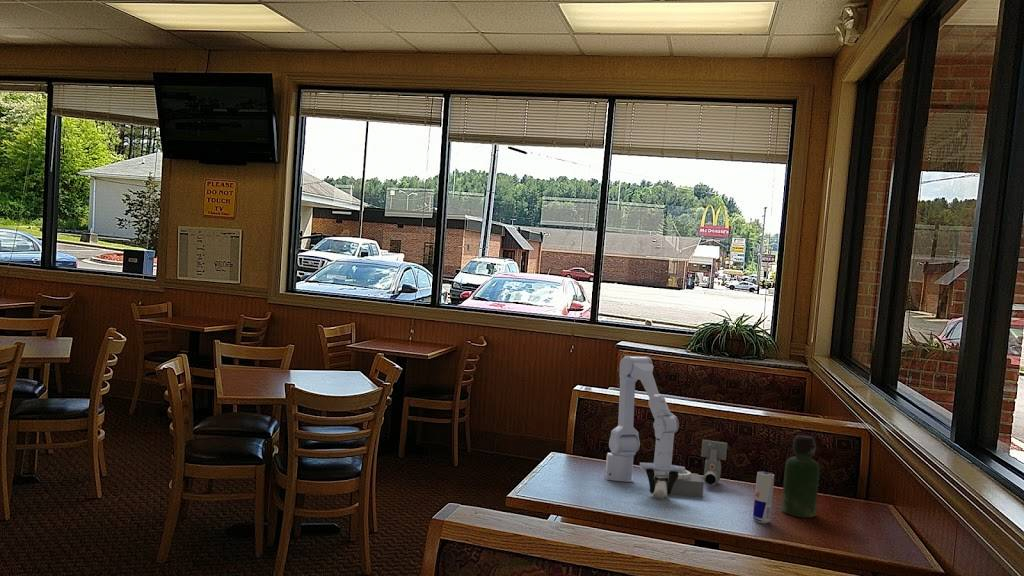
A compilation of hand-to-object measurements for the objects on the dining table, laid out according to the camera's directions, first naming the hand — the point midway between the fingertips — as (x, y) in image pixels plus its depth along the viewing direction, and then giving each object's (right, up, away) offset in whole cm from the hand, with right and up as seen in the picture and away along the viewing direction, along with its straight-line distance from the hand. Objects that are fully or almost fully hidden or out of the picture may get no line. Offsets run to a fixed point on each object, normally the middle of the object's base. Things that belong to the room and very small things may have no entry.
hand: (659, 493), depth 266 cm
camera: (+22, -3, +22) cm, 31 cm away
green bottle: (+44, -5, -5) cm, 44 cm away
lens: (0, -1, 0) cm, 1 cm away
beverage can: (+28, -5, -17) cm, 33 cm away
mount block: (+7, -2, +11) cm, 13 cm away
